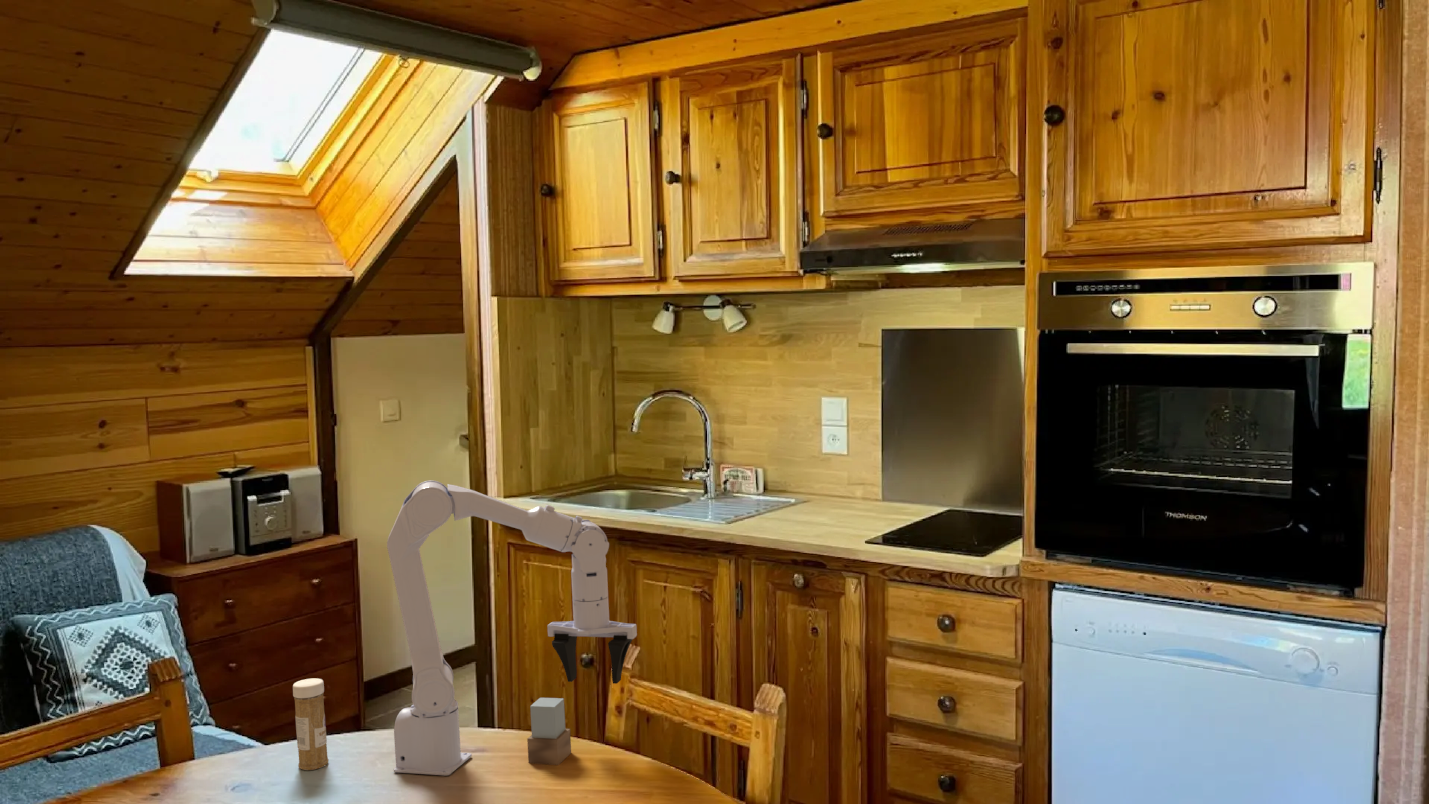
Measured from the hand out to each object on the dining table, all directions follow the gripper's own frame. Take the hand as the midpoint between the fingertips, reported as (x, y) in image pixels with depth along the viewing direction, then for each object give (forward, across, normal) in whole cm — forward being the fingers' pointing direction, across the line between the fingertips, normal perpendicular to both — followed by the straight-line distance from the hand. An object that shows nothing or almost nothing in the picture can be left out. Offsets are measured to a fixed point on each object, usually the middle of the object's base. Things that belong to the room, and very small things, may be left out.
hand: (594, 680), depth 175 cm
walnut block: (+11, -6, -6) cm, 14 cm away
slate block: (+7, -6, -6) cm, 11 cm away
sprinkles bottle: (+11, -42, -15) cm, 46 cm away
